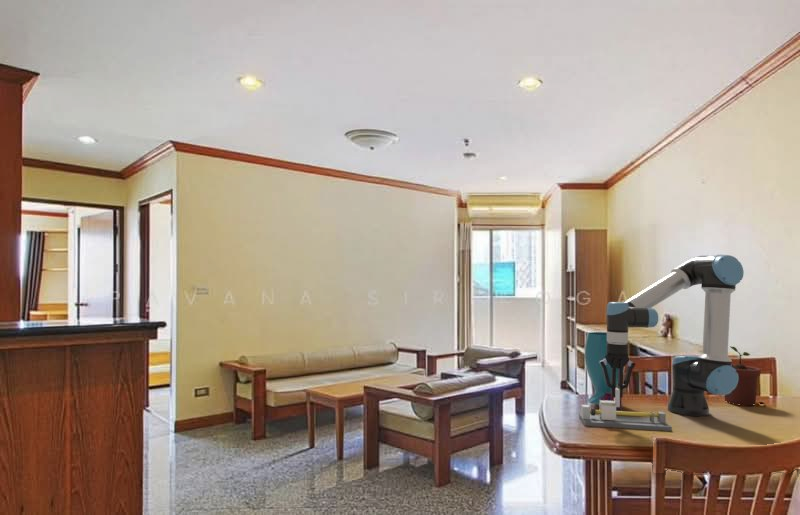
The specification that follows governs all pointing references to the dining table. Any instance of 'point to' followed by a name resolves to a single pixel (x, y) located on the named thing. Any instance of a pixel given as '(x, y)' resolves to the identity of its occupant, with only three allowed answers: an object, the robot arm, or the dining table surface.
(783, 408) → the dining table surface
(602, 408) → the sleeve
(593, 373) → the vase
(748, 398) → the potted plant
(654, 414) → the linear slide mechanism
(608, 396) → the mug
